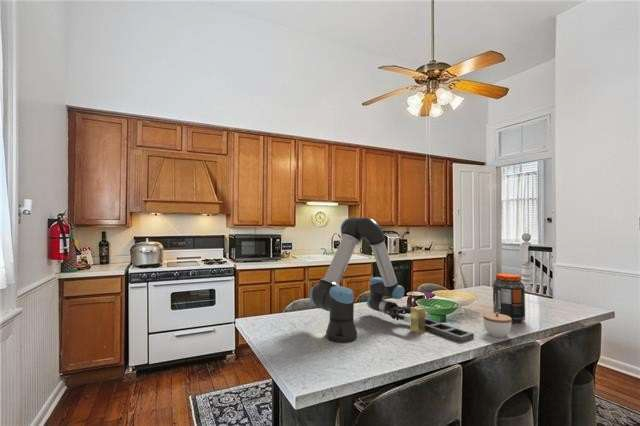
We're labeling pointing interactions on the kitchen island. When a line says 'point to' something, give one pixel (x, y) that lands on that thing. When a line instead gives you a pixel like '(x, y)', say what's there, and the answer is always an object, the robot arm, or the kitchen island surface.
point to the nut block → (418, 319)
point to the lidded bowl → (497, 324)
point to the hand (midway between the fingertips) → (418, 317)
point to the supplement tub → (509, 296)
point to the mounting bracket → (428, 294)
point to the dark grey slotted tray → (448, 331)
